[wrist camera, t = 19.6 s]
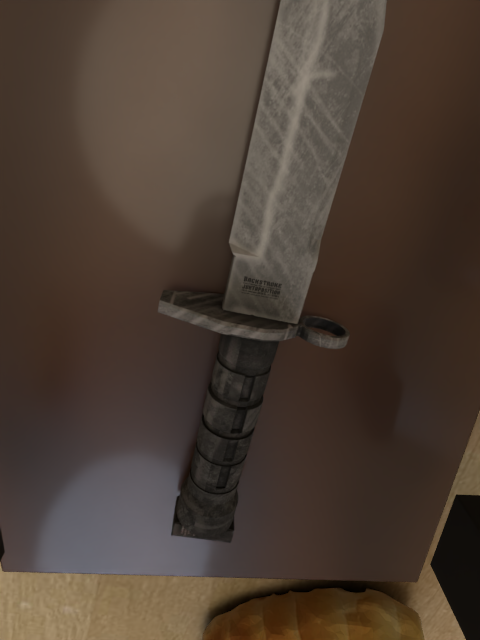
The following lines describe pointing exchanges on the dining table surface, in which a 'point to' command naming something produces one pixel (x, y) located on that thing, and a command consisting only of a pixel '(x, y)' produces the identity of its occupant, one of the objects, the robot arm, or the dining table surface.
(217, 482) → the knife
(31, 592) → the dining table surface
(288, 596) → the pastry
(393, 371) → the cutting board
